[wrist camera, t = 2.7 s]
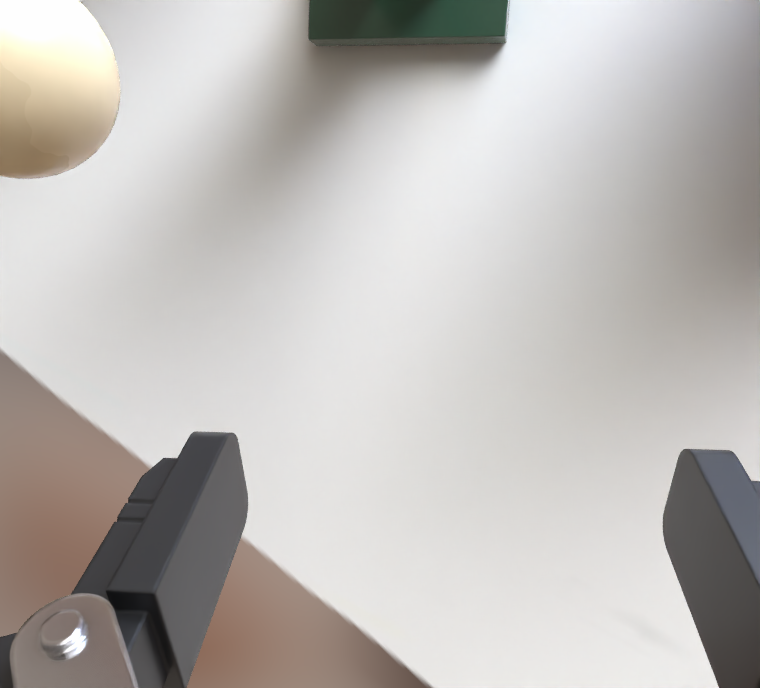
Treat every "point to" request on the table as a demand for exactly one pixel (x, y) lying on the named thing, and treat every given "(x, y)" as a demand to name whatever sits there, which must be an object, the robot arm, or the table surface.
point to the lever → (53, 87)
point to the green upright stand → (407, 22)
